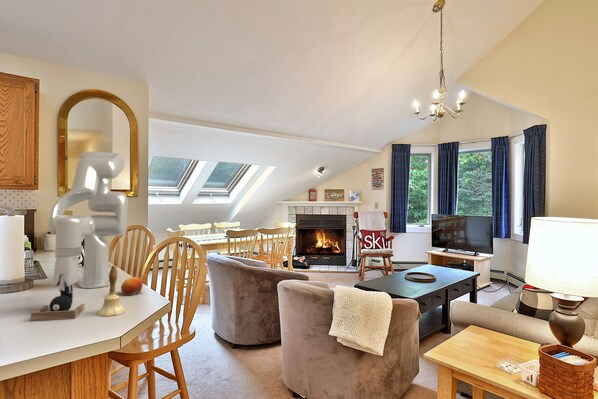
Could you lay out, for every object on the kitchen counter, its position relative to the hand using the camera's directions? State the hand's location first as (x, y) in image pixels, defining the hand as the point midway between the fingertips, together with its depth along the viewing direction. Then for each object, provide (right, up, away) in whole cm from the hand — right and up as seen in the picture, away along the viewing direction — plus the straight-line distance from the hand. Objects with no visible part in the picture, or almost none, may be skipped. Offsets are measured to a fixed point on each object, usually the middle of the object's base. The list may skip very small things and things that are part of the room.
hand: (66, 304), depth 118 cm
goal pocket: (+2, -2, -6) cm, 7 cm away
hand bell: (+17, -2, -2) cm, 17 cm away
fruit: (+12, -3, +22) cm, 25 cm away
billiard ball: (+1, -2, -5) cm, 5 cm away
